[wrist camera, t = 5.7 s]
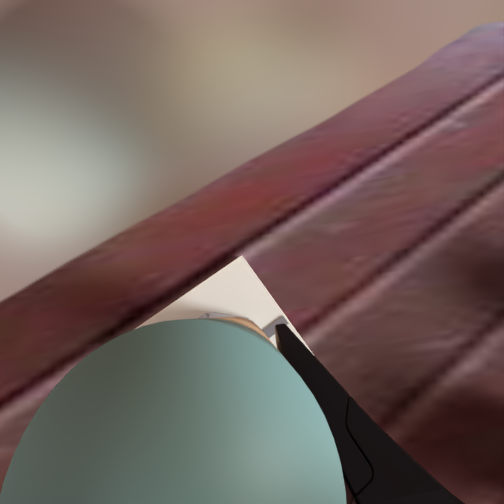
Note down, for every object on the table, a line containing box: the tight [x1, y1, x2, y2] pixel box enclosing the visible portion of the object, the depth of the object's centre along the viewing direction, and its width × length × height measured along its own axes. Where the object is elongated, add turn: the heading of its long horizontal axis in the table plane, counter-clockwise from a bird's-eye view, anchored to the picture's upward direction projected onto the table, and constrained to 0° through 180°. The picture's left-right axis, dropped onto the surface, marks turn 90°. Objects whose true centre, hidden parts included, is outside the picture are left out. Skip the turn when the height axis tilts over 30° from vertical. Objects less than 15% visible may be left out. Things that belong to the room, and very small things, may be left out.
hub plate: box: [135, 256, 314, 355], centre depth 19 cm, size 14×14×3 cm
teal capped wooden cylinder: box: [0, 317, 346, 504], centre depth 9 cm, size 4×4×12 cm
